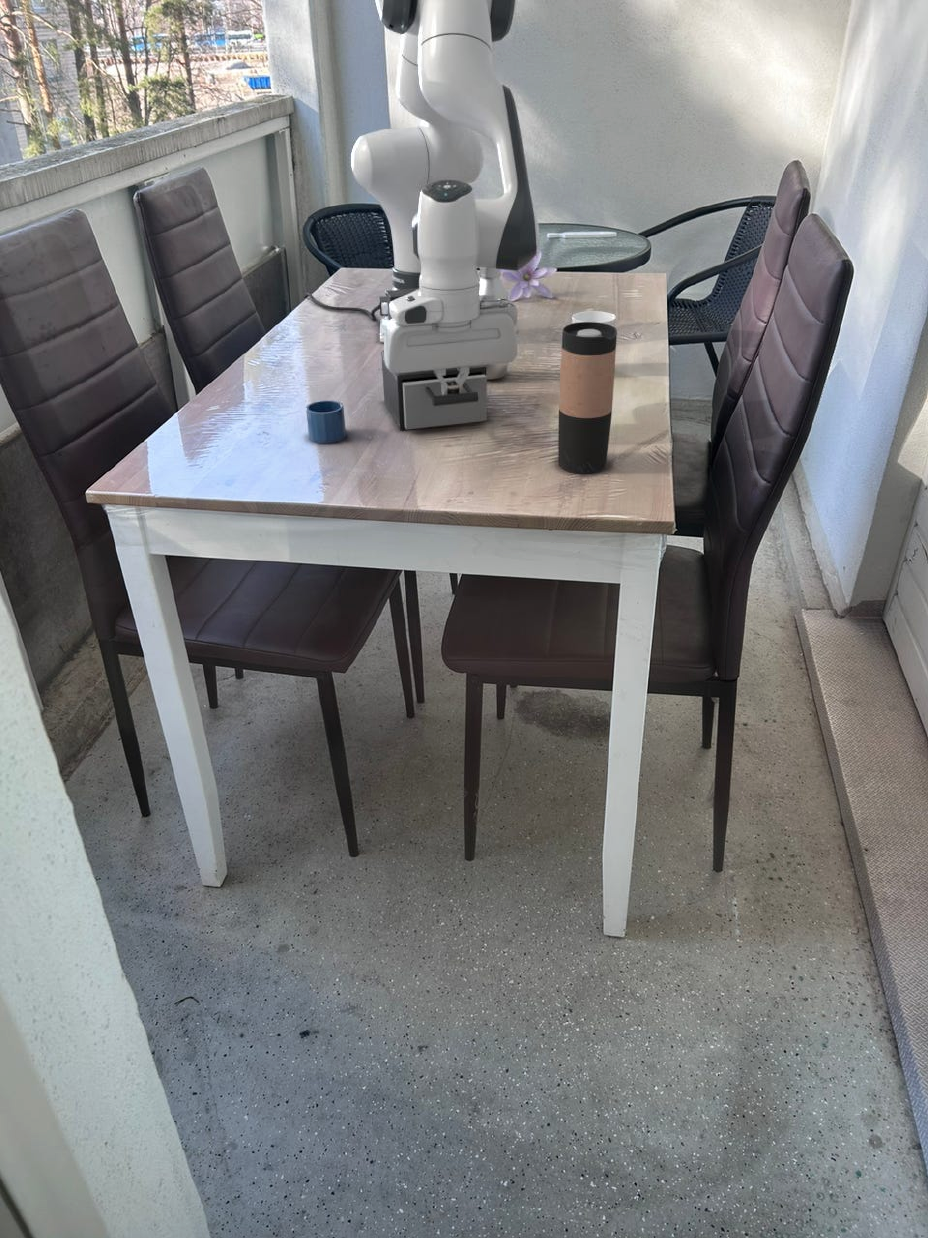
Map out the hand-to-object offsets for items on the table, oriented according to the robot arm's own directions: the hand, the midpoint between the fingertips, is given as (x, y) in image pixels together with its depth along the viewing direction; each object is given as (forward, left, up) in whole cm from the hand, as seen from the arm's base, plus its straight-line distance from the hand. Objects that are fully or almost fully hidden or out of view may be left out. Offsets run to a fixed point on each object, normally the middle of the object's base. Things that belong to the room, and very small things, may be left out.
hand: (452, 394), depth 147 cm
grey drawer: (-7, 0, -6) cm, 9 cm away
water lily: (-80, +38, -7) cm, 89 cm away
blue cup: (-7, -19, -7) cm, 21 cm away
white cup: (-25, +33, -7) cm, 42 cm away
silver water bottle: (-27, +14, -7) cm, 31 cm away
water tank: (-17, 0, +2) cm, 17 cm away
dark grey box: (-13, 0, -7) cm, 15 cm away
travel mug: (+15, +16, -7) cm, 23 cm away
